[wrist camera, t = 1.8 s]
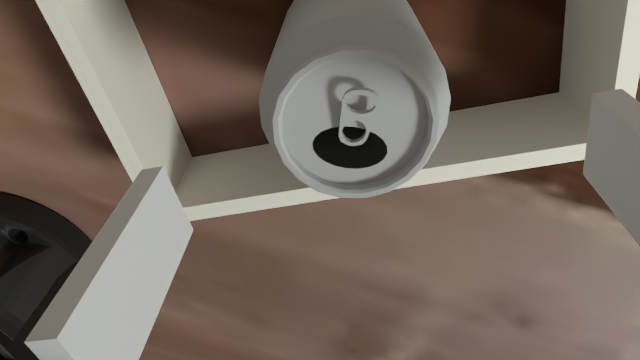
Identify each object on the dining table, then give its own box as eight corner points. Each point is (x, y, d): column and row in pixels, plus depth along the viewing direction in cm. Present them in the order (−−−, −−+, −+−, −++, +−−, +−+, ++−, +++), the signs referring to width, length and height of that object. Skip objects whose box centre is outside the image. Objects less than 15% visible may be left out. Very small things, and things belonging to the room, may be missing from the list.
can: (278, 86, 28) (247, 202, 18) (290, -45, 24) (257, 12, 14) (397, 103, 29) (428, 225, 19) (429, -24, 24) (491, 46, 15)
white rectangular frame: (184, 171, 32) (156, 226, 27) (87, -44, 24) (23, -23, 19) (574, 104, 28) (625, 153, 23) (602, -174, 21) (686, -190, 16)
